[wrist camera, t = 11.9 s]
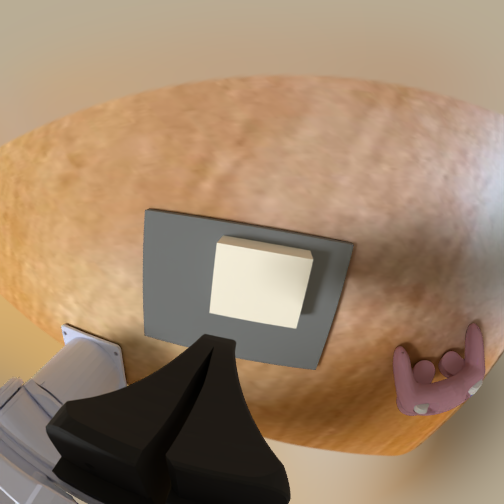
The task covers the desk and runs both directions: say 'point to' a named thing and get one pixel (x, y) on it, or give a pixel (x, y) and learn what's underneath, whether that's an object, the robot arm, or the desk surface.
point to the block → (259, 281)
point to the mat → (200, 286)
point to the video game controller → (442, 392)
